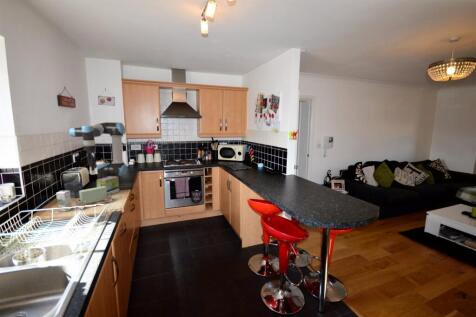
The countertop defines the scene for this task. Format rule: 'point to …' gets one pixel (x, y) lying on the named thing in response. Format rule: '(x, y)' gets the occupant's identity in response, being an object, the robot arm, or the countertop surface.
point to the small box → (73, 188)
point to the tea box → (109, 184)
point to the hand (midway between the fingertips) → (92, 174)
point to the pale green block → (93, 194)
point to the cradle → (107, 200)
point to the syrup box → (63, 200)
